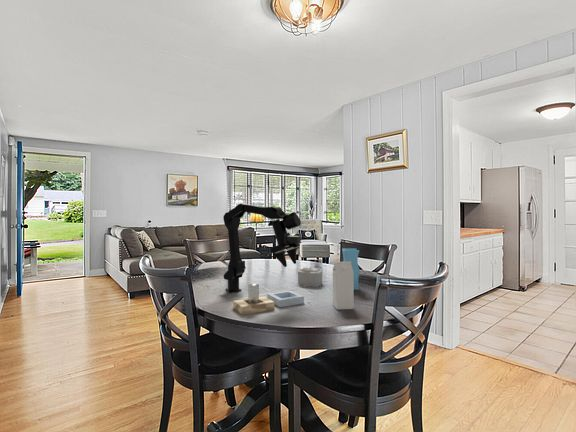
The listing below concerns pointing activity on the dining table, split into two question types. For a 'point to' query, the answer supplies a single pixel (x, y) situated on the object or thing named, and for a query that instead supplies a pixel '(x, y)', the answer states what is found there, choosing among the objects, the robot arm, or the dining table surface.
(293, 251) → the robot arm
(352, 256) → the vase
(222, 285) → the dining table surface
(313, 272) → the lumpy-topped squat cylinder
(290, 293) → the seat block
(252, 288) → the steel axle
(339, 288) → the milk carton
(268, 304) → the tan rectangular frame
